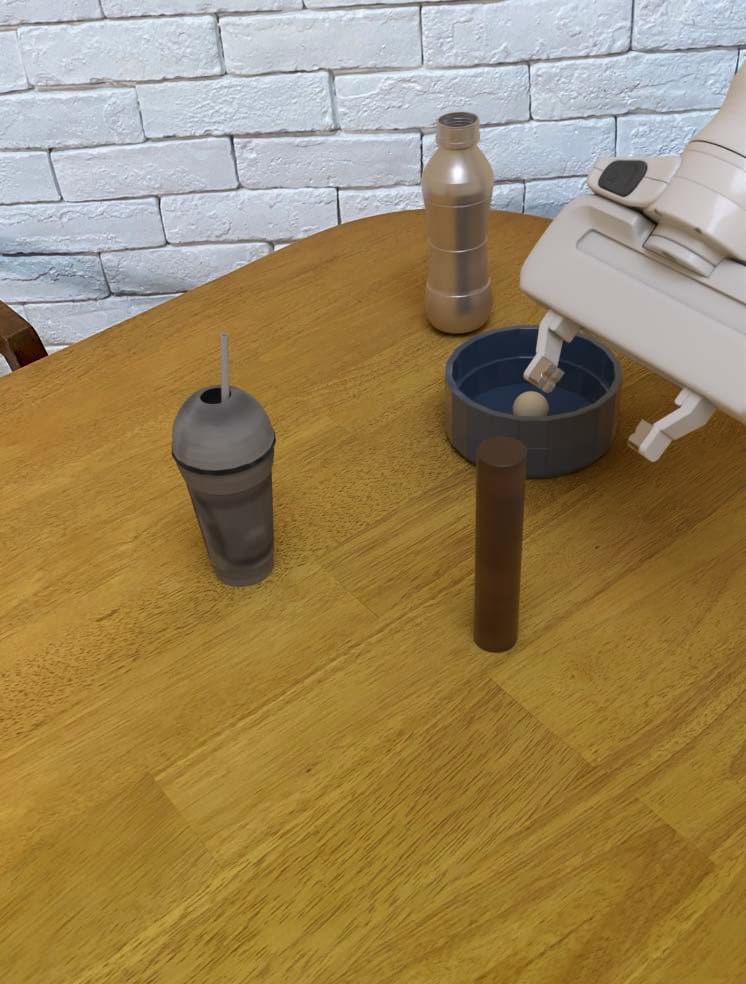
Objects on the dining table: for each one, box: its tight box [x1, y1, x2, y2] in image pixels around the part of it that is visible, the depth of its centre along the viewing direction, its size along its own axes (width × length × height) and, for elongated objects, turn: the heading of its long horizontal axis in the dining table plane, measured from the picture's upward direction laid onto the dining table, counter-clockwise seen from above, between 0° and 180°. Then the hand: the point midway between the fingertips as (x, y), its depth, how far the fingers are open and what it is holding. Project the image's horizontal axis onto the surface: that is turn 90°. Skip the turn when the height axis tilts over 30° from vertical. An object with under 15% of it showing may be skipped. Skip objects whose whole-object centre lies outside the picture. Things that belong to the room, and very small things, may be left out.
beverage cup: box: [171, 332, 277, 587], centre depth 79 cm, size 7×7×20 cm
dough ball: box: [513, 391, 549, 416], centre depth 95 cm, size 3×3×3 cm
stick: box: [473, 437, 527, 653], centre depth 73 cm, size 3×3×16 cm
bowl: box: [444, 324, 624, 480], centre depth 94 cm, size 14×14×6 cm
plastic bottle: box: [420, 111, 495, 334], centre depth 103 cm, size 6×7×20 cm
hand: (585, 418), depth 71 cm, fingers open, 8 cm apart
